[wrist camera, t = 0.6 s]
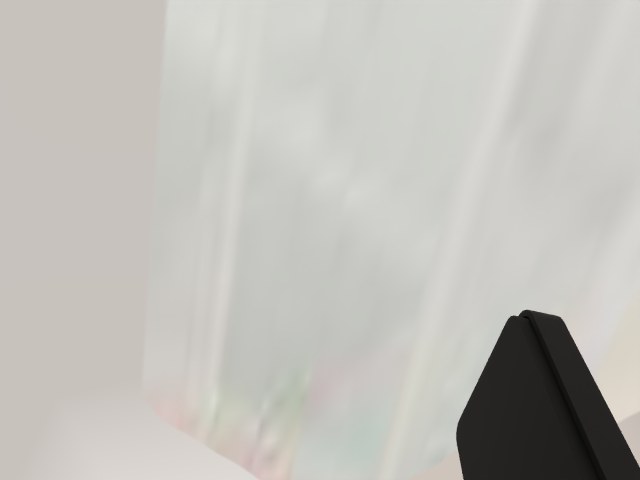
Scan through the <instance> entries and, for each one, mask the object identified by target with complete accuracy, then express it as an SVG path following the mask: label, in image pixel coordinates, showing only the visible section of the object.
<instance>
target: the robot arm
mask: <svg viewBox="0 0 640 480" xmlns="http://www.w3.org/2000/svg"><path fill="white" fill-rule="evenodd" d="M456 440H457V447H458V452H459V457H460V463H461V468H462V473H463V479H464V480H640V467H639V465H638V463H637V461H636V460H635V458H634V456H633V454H632V452H631V450H630V448H629V446H628V444H627V442H626V440H625V439H624V436H623V435H622V433H621V431H620V429H619V427H618V425H617V423H616V421H615V419H614V417H613V415H612V413H611V411H610V409H609V408H608V406H607V404H606V402H605V400H604V398H603V396H602V394H601V392H600V390H599V388H598V386H597V384H596V383H595V381H594V379H593V377H592V375H591V373H590V371H589V369H588V367H587V365H586V363H585V361H584V359H583V358H582V356H581V354H580V352H579V350H578V348H577V346H576V344H575V342H574V340H573V338H572V336H571V334H570V333H569V331H568V329H567V327H566V325H565V323H564V321H563V320H562V319H561V317H558V316H555V315H550V314H545V313H541V312H536V311H531V310H524V311H522V312H521V313H520V314H519V316H511V317H510V318H509V319H508V320H507V322H506V324H505V326H504V328H503V330H502V332H501V334H500V337H499V339H498V341H497V343H496V345H495V347H494V349H493V351H492V353H491V355H490V357H489V359H488V361H487V363H486V366H485V368H484V370H483V372H482V374H481V376H480V378H479V380H478V382H477V384H476V386H475V388H474V390H473V393H472V395H471V397H470V399H469V401H468V403H467V405H466V407H465V409H464V411H463V413H462V415H461V417H460V420H459V422H458V426H457V432H456Z"/></svg>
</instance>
